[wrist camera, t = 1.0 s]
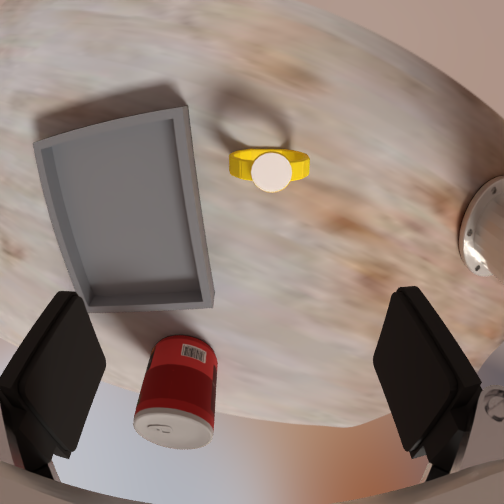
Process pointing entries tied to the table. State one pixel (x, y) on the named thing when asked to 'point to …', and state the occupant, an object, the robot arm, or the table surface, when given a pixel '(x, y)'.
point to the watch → (269, 167)
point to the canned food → (178, 394)
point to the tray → (129, 213)
